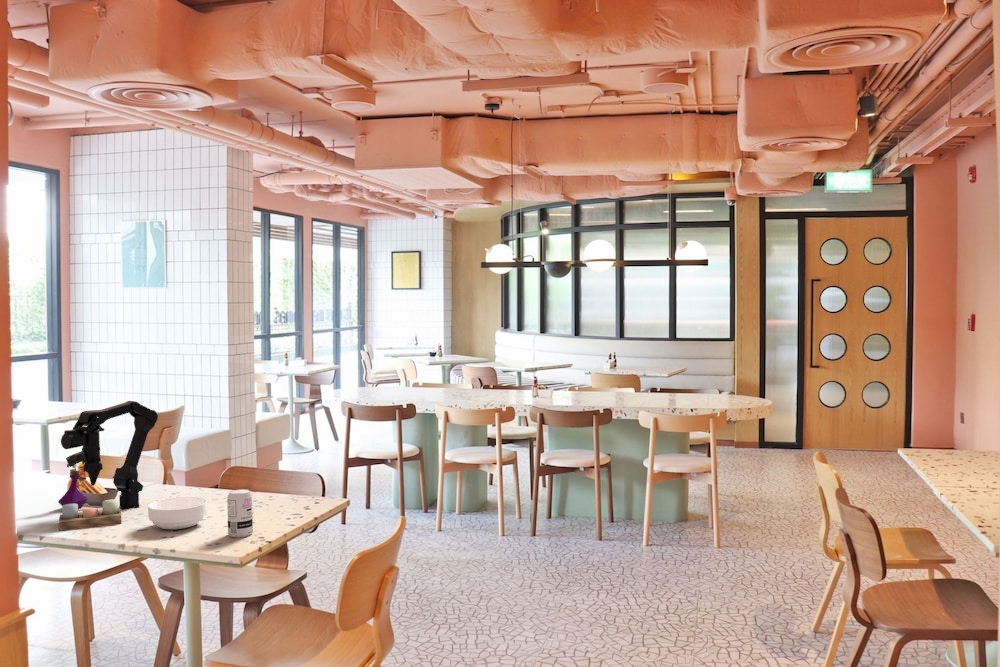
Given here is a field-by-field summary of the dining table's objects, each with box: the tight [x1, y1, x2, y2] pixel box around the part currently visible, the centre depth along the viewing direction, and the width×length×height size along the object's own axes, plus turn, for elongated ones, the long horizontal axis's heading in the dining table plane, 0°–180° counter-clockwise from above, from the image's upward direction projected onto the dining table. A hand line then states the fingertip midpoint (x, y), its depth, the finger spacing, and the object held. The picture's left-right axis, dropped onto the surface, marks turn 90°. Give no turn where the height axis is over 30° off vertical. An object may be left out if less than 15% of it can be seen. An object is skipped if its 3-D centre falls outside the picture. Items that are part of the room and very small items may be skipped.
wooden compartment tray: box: [58, 507, 122, 531], centre depth 294 cm, size 20×12×3 cm, turn 117°
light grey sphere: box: [61, 503, 79, 520], centre depth 291 cm, size 5×5×5 cm
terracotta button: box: [82, 507, 99, 517], centre depth 294 cm, size 5×5×5 cm
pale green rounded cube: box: [101, 498, 119, 515], centre depth 297 cm, size 5×5×5 cm
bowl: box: [147, 496, 208, 530], centre depth 289 cm, size 20×20×8 cm
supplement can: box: [226, 488, 254, 538], centre depth 278 cm, size 8×8×15 cm
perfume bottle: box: [58, 463, 89, 509], centre depth 316 cm, size 8×8×18 cm
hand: (92, 485), depth 304 cm, fingers closed
